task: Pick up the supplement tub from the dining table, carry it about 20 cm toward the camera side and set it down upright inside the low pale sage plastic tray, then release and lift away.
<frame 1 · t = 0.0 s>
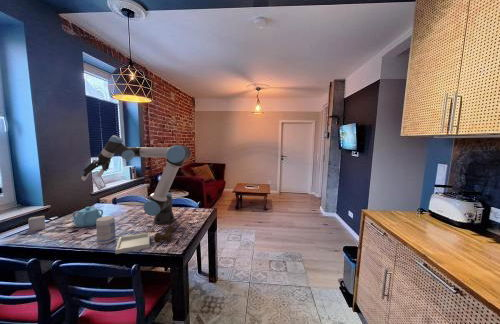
hand: (90, 178, 147), 36 cm above the table, tool tilted 35°, fingers open, 13 cm apart
kendama: (165, 239, 132), on the table
decorative pot: (88, 224, 152), on the table
medicine box: (37, 229, 142), on the table
supplement tub: (106, 241, 127), on the table
sage tray: (134, 244, 124), on the table
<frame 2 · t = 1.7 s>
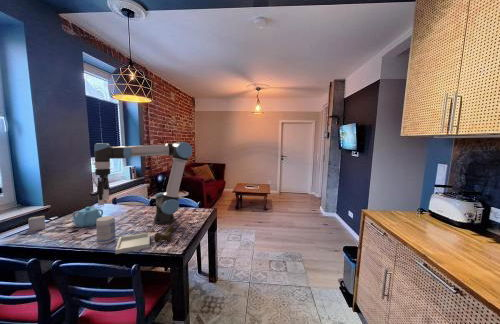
hand: (103, 202, 126), 25 cm above the table, tool pointing down, fingers open, 13 cm apart
nothing on the table moved.
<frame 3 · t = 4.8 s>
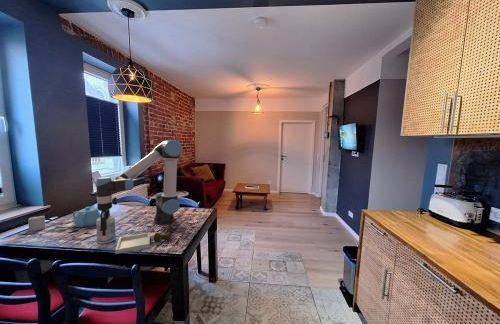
hand: (106, 236, 127), 3 cm above the table, tool pointing down, fingers closed on supplement tub, 10 cm apart
supplement tub: (106, 241, 127), on the table, touching gripper
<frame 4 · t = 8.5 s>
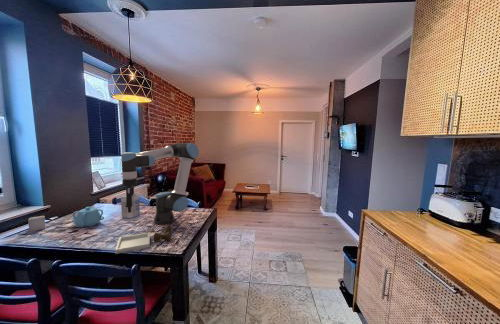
hand: (131, 214, 122), 19 cm above the table, tool pointing down, fingers closed on supplement tub, 10 cm apart
supplement tub: (131, 219, 123), point 16 cm above the table, touching gripper
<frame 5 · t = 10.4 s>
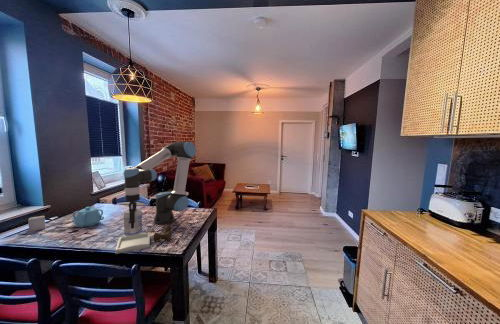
hand: (133, 229, 123), 9 cm above the table, tool pointing down, fingers closed on supplement tub, 10 cm apart
supplement tub: (133, 234, 123), point 6 cm above the table, touching gripper
when the fingers open (5 cm above the table, at t = 12.2 s): supplement tub drops 2 cm, resting on sage tray.
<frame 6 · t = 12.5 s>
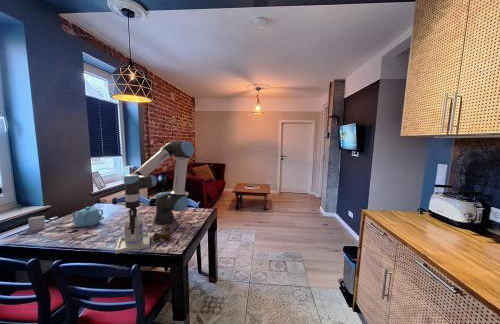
hand: (133, 234, 123), 6 cm above the table, tool pointing down, fingers open, 13 cm apart
supplement tub: (134, 242, 124), point 1 cm above the table, touching sage tray
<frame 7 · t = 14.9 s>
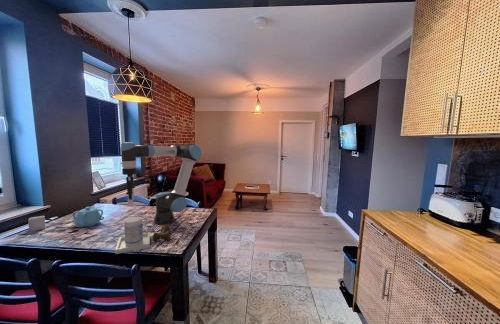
hand: (131, 201, 125), 26 cm above the table, tool pointing down, fingers open, 13 cm apart
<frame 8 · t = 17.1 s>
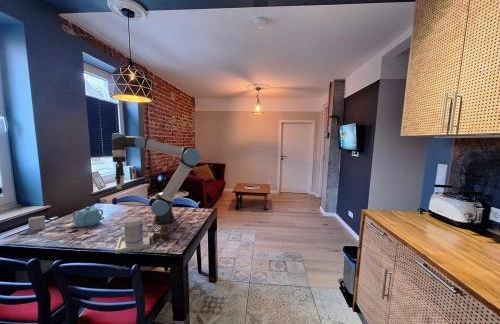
hand: (120, 186, 139), 32 cm above the table, tool pointing down, fingers open, 13 cm apart
at the end: supplement tub inside the target area on the sage tray (0.3 cm from its centre), point 0.6 cm above the sage tray's base; supplement tub tilted 0°; the gripper is holding nothing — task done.
